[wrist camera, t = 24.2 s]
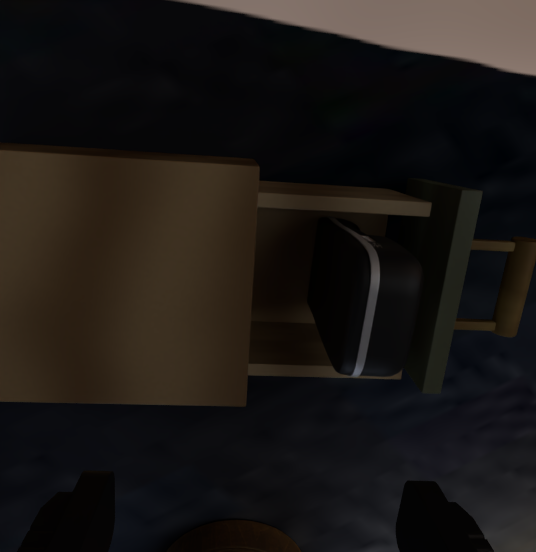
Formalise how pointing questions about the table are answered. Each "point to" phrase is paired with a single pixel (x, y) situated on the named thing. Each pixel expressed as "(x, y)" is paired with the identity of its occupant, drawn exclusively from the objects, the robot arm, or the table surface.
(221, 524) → the wooden container
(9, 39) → the table surface
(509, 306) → the drawer
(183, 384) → the cabinet
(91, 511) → the robot arm
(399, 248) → the battery charger
